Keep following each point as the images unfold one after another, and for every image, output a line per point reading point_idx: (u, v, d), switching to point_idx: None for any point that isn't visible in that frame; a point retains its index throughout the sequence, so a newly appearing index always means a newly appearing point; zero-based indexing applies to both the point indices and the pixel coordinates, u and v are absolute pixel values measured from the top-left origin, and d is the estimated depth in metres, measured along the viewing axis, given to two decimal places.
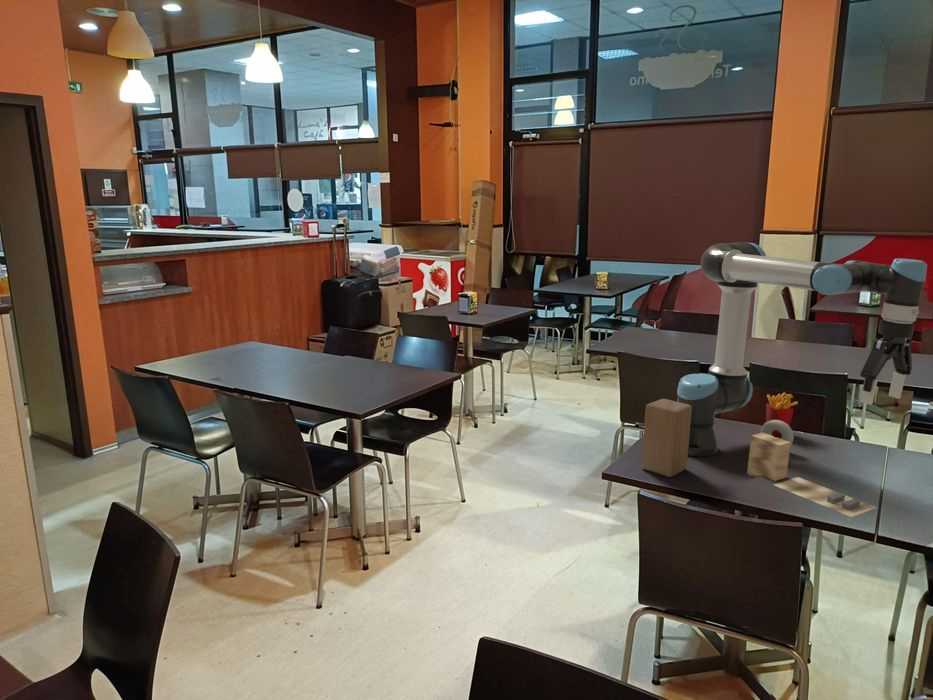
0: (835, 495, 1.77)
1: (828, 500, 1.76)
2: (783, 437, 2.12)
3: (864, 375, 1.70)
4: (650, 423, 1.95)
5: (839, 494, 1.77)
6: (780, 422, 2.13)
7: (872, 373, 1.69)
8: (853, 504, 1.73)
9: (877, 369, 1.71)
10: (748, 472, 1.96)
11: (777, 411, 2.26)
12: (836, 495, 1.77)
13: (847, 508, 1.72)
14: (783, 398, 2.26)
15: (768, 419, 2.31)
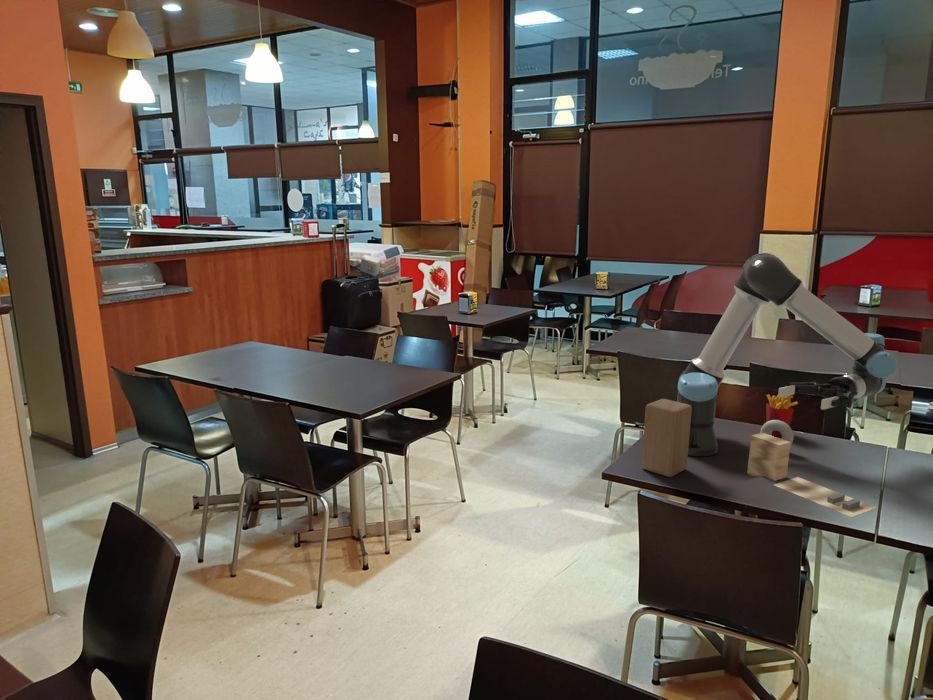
0: (835, 495, 1.77)
1: (828, 500, 1.76)
2: (783, 437, 2.12)
3: (850, 402, 1.90)
4: (650, 423, 1.95)
5: (839, 494, 1.77)
6: (780, 422, 2.13)
7: None
8: (853, 504, 1.73)
9: None
10: (748, 472, 1.96)
11: (777, 411, 2.26)
12: (836, 495, 1.77)
13: (847, 508, 1.72)
14: (783, 398, 2.26)
15: (768, 419, 2.31)
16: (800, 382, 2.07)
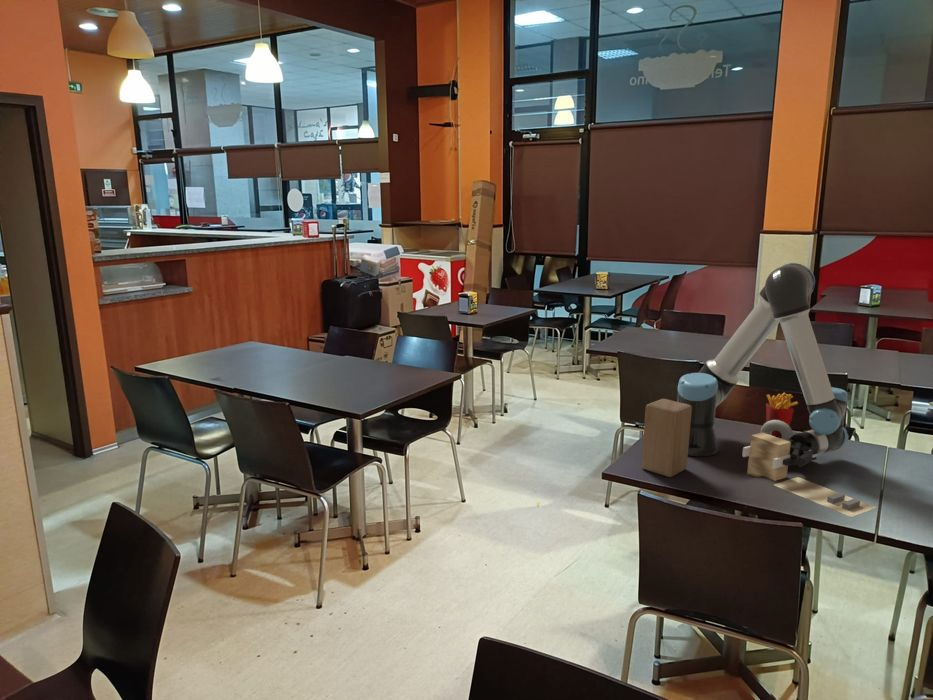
0: (835, 495, 1.77)
1: (828, 500, 1.76)
2: (783, 437, 2.12)
3: (801, 462, 1.88)
4: (650, 423, 1.95)
5: (839, 494, 1.77)
6: (780, 422, 2.13)
7: None
8: (853, 504, 1.73)
9: None
10: (748, 472, 1.96)
11: (777, 411, 2.26)
12: (836, 495, 1.77)
13: (847, 508, 1.72)
14: (783, 398, 2.26)
15: (768, 419, 2.31)
16: None
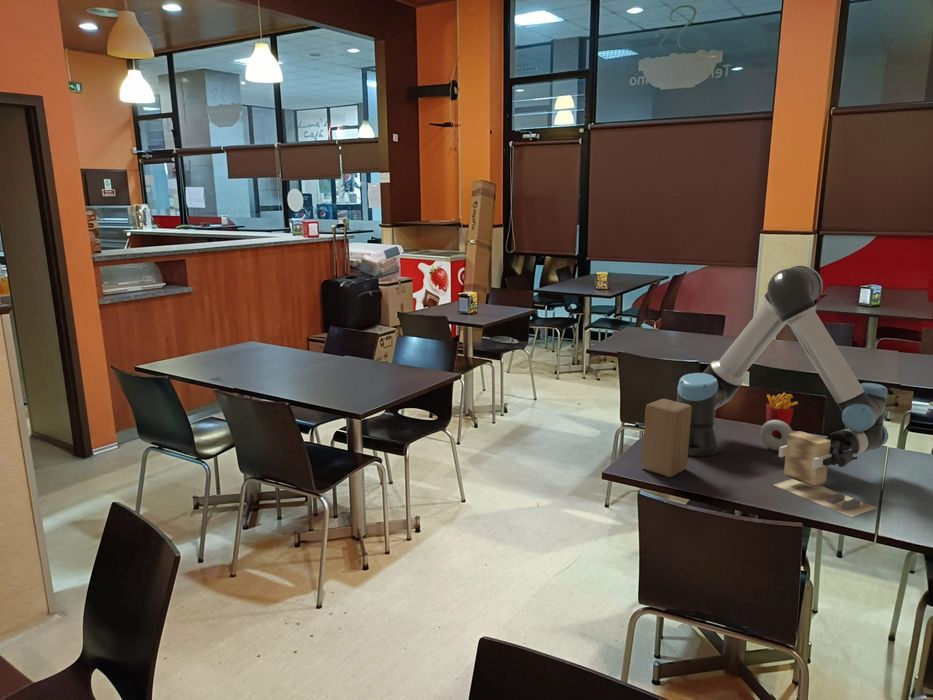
0: (835, 495, 1.77)
1: (828, 500, 1.76)
2: (783, 437, 2.12)
3: (842, 461, 1.77)
4: (650, 423, 1.95)
5: (839, 494, 1.77)
6: (780, 422, 2.13)
7: None
8: (853, 504, 1.73)
9: None
10: (785, 473, 1.86)
11: (777, 411, 2.26)
12: (836, 495, 1.77)
13: (847, 508, 1.72)
14: (783, 398, 2.26)
15: (768, 419, 2.31)
16: None
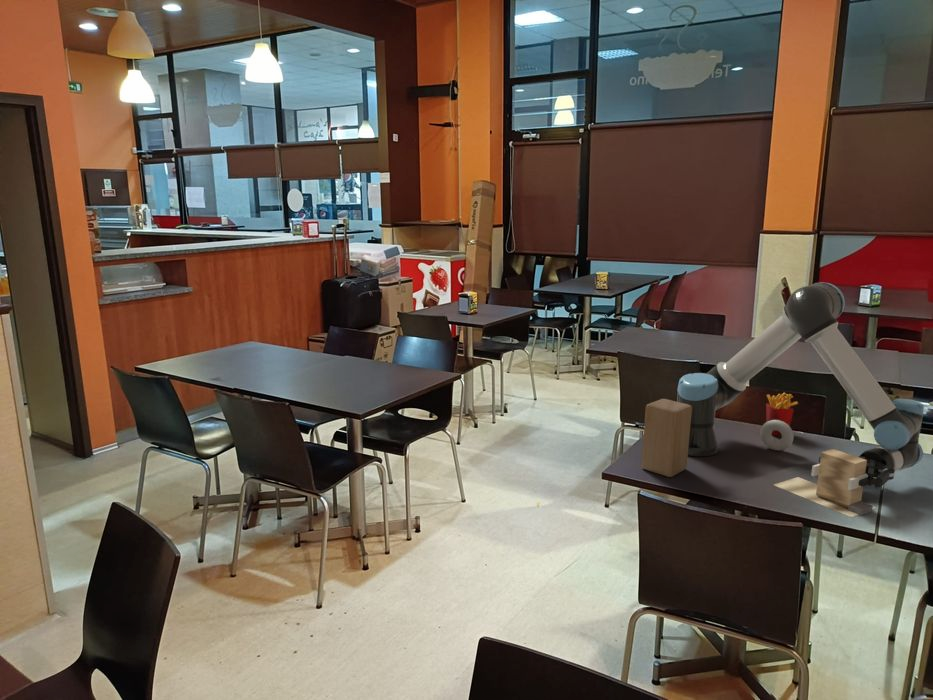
0: (856, 503, 1.72)
1: (849, 509, 1.71)
2: (783, 437, 2.12)
3: (879, 482, 1.70)
4: (650, 423, 1.95)
5: (860, 502, 1.73)
6: (780, 422, 2.13)
7: None
8: (866, 509, 1.70)
9: None
10: (817, 492, 1.79)
11: (777, 411, 2.26)
12: (857, 503, 1.72)
13: (859, 513, 1.69)
14: (783, 398, 2.26)
15: (768, 419, 2.31)
16: None
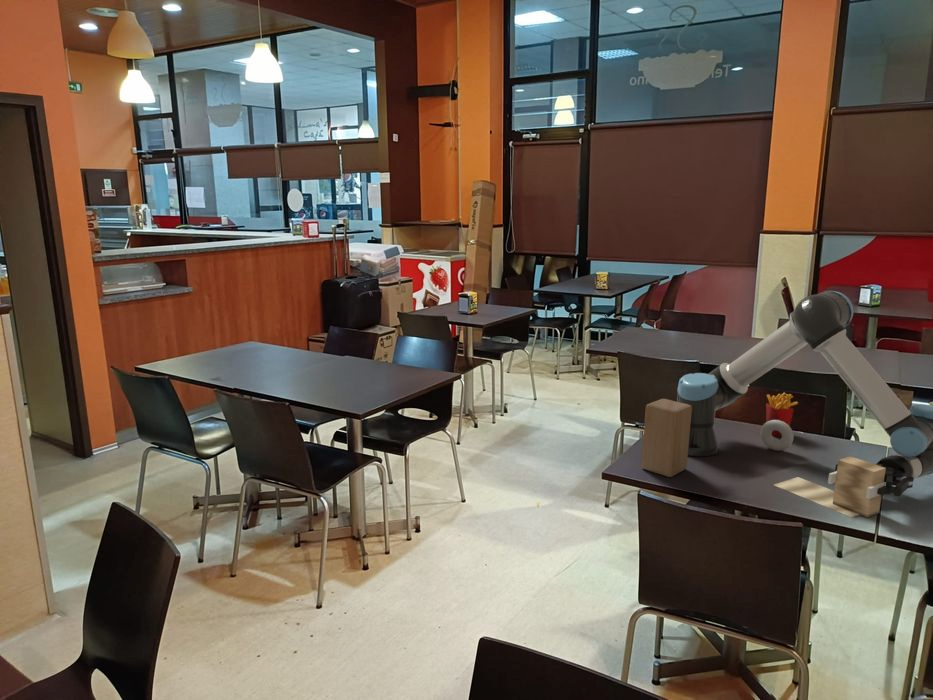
0: None
1: None
2: (783, 437, 2.12)
3: (899, 491, 1.66)
4: (650, 423, 1.95)
5: None
6: (780, 422, 2.13)
7: None
8: None
9: None
10: (834, 501, 1.75)
11: (777, 411, 2.26)
12: None
13: None
14: (783, 398, 2.26)
15: (768, 419, 2.31)
16: None
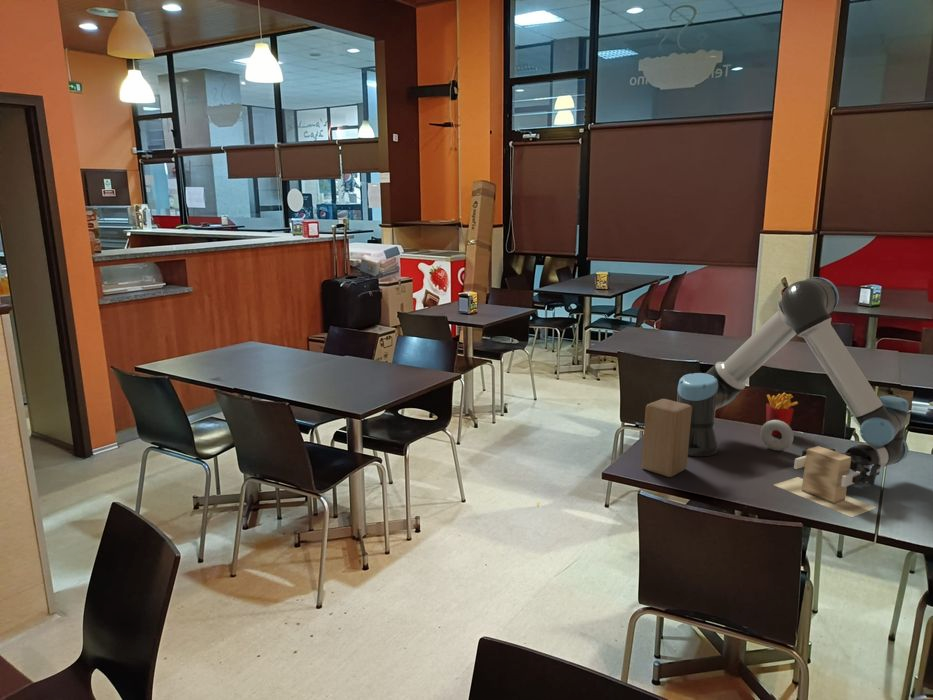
0: None
1: None
2: (783, 437, 2.12)
3: (873, 479, 1.72)
4: (650, 423, 1.95)
5: None
6: (780, 422, 2.13)
7: None
8: None
9: None
10: (803, 489, 1.82)
11: (777, 411, 2.26)
12: None
13: None
14: (783, 398, 2.26)
15: (768, 419, 2.31)
16: None
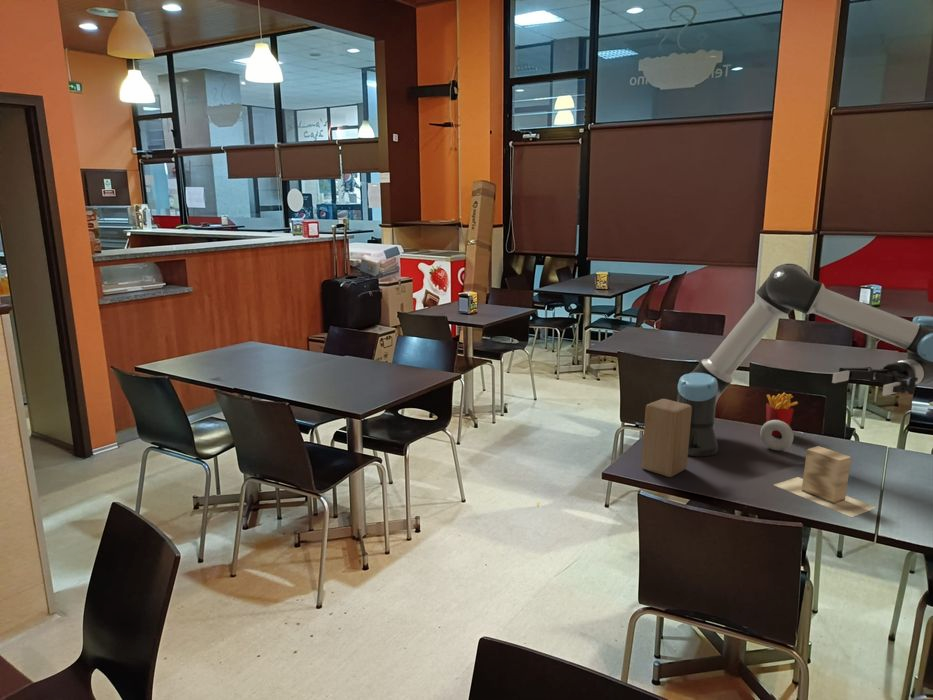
0: None
1: None
2: (783, 437, 2.12)
3: (913, 388, 1.77)
4: (650, 423, 1.95)
5: None
6: (780, 422, 2.13)
7: None
8: None
9: None
10: (803, 489, 1.82)
11: (777, 411, 2.26)
12: None
13: None
14: (783, 398, 2.26)
15: (768, 419, 2.31)
16: None
